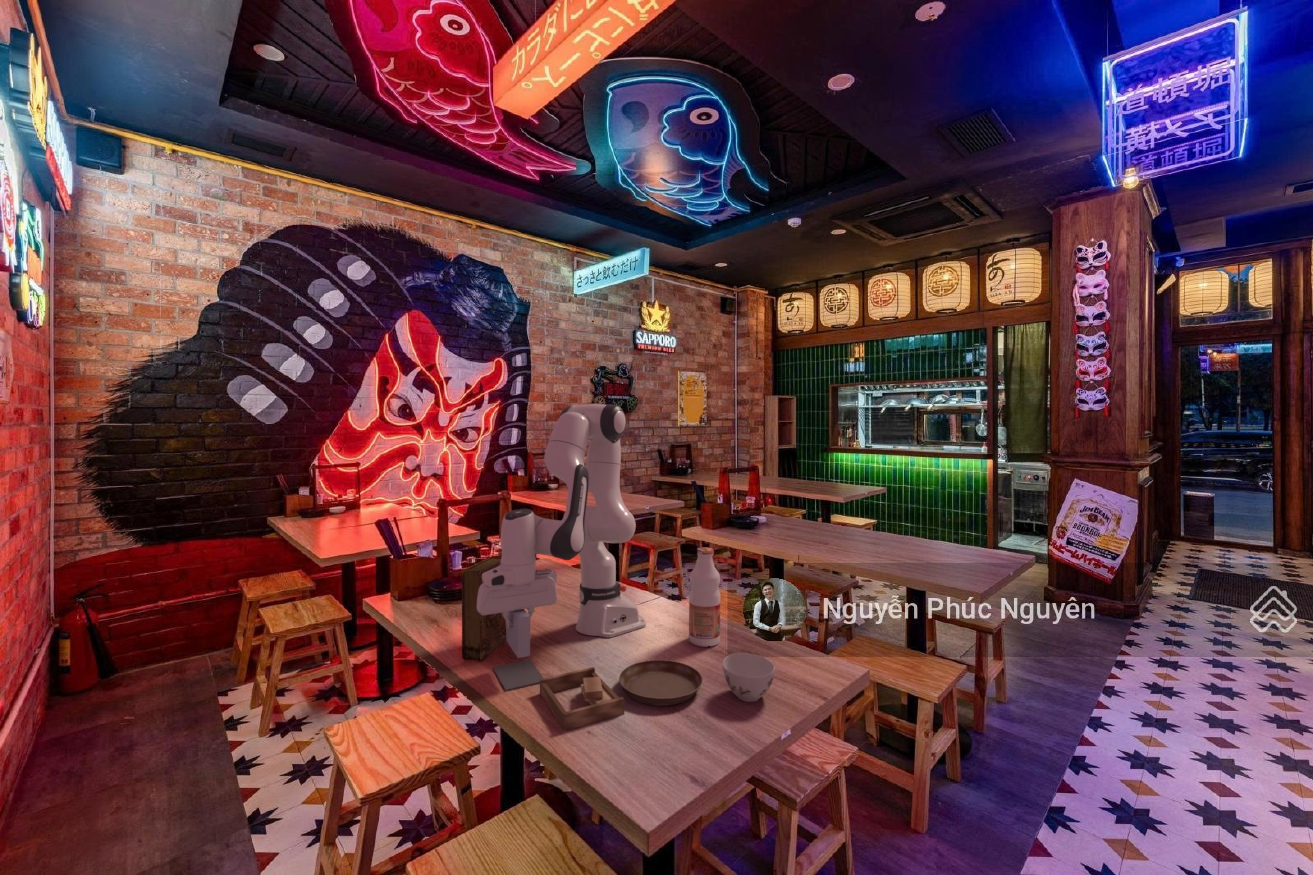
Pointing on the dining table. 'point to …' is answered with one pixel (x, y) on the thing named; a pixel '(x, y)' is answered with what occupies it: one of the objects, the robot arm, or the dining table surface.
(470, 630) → the book
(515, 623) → the block
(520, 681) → the mat
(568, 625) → the dining table surface
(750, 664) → the teacup
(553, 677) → the brown open frame piece
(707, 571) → the fruit juice
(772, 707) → the dining table surface
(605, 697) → the block
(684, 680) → the plant saucer
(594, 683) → the offcut short
